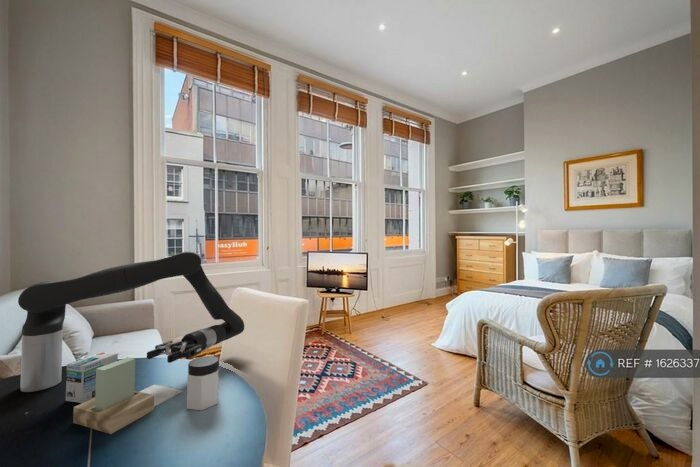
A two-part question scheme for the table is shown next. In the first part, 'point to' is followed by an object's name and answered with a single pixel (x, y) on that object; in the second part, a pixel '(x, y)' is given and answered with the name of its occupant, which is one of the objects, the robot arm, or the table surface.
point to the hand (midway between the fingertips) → (157, 357)
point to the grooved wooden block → (113, 413)
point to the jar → (203, 382)
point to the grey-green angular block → (114, 383)
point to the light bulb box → (85, 376)
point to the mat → (161, 393)
